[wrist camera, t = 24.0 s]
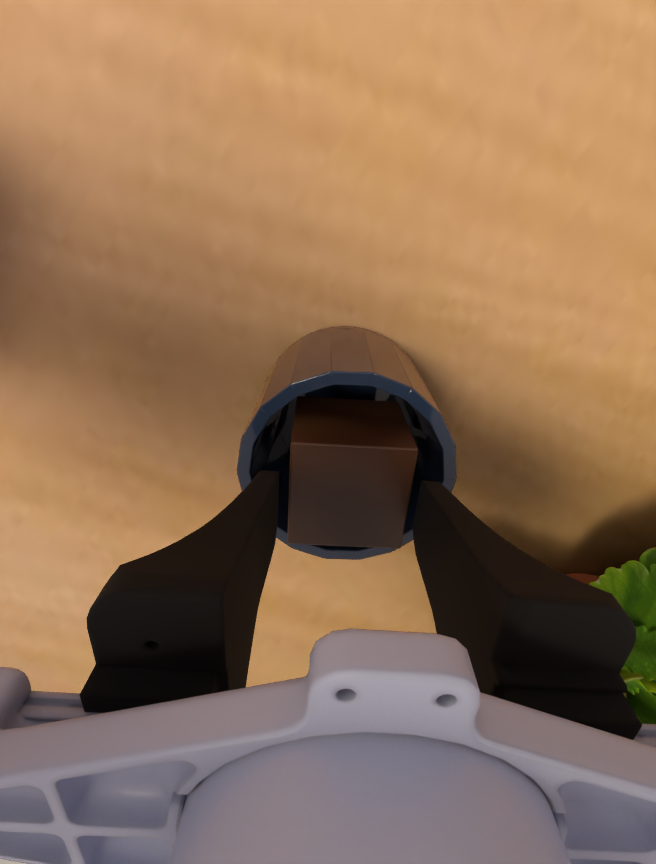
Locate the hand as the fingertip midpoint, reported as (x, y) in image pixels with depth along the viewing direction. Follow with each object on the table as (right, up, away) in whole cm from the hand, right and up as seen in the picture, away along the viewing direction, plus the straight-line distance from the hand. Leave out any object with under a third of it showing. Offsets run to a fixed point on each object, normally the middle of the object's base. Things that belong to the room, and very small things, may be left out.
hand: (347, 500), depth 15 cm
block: (0, +2, +4) cm, 4 cm away
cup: (0, +4, +8) cm, 9 cm away
